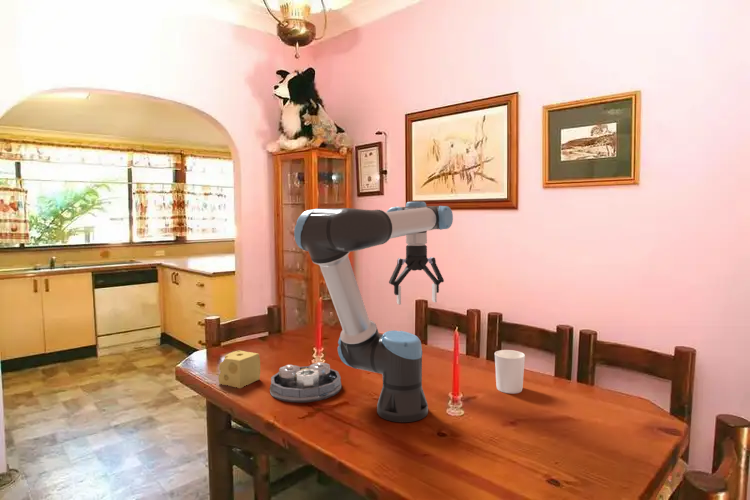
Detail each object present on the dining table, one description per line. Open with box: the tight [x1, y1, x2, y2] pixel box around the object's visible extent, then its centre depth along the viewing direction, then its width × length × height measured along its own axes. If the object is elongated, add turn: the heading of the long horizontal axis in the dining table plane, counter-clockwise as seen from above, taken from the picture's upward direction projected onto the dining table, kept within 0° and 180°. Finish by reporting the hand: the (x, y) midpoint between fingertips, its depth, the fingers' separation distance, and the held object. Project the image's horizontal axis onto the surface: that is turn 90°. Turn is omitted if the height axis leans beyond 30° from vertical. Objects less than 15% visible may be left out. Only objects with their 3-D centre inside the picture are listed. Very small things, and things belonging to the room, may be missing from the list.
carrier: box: [269, 361, 342, 404], centre depth 159 cm, size 24×24×8 cm
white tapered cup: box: [494, 349, 526, 394], centre depth 156 cm, size 10×10×12 cm
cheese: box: [217, 349, 261, 389], centre depth 166 cm, size 10×11×10 cm
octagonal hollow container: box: [296, 369, 319, 389], centre depth 153 cm, size 7×7×6 cm
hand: (416, 302), depth 170 cm, fingers open, 13 cm apart
